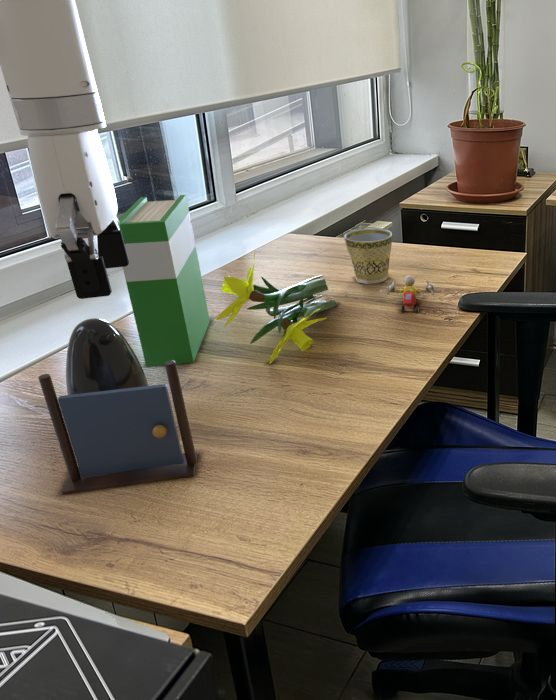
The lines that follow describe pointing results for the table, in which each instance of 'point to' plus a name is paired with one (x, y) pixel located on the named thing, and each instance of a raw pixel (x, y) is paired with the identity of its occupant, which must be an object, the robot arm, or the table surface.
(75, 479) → the door frame
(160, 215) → the hardback book
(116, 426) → the door
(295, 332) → the daffodil flowers
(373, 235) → the ceramic cup
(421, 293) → the toy airplane
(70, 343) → the dark grey rounded dome
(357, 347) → the table surface
